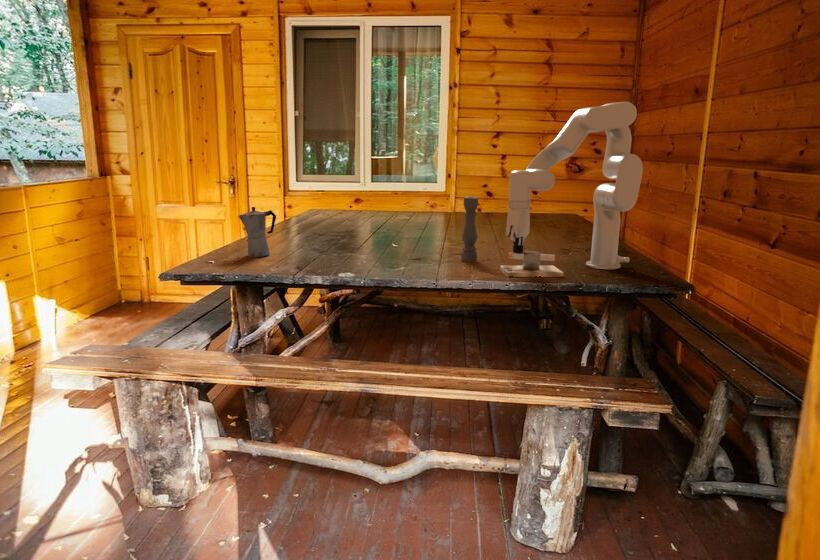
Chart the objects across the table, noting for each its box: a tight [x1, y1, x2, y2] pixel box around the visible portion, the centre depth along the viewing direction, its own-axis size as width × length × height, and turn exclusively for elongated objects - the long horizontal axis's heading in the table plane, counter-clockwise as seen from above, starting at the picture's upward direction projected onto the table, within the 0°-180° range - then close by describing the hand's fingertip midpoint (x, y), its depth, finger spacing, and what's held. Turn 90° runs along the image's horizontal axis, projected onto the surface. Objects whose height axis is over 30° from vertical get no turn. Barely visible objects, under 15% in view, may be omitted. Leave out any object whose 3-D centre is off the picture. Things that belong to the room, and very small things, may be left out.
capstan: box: [507, 250, 556, 270], centre depth 203 cm, size 16×6×6 cm, turn 78°
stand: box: [499, 264, 564, 278], centre depth 204 cm, size 20×12×2 cm, turn 93°
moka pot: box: [238, 206, 277, 258], centre depth 229 cm, size 10×15×20 cm, turn 127°
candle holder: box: [460, 196, 479, 263], centre depth 222 cm, size 6×6×25 cm
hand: (517, 255), depth 206 cm, fingers closed
